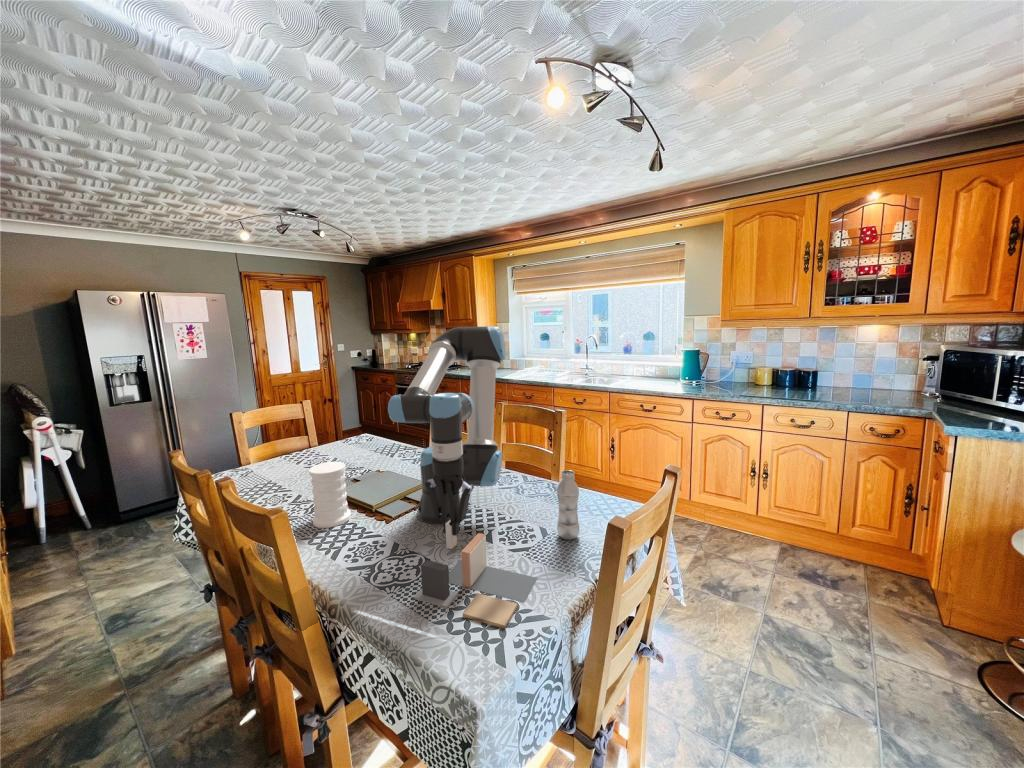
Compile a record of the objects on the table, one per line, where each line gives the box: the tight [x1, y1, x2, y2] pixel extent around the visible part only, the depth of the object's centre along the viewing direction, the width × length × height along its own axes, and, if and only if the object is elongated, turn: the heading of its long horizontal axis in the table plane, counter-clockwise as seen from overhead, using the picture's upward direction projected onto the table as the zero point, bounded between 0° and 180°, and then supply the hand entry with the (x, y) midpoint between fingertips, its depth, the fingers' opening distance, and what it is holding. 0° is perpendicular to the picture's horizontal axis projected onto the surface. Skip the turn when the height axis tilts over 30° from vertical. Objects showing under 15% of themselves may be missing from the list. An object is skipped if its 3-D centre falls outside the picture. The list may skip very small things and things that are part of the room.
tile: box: [461, 532, 488, 589], centre depth 100 cm, size 2×9×9 cm, turn 158°
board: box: [462, 592, 518, 630], centre depth 88 cm, size 10×7×1 cm
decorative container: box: [308, 461, 352, 529], centre depth 132 cm, size 12×12×18 cm
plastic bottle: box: [556, 469, 580, 541], centre depth 118 cm, size 6×7×20 cm
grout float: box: [413, 559, 459, 609], centre depth 93 cm, size 9×5×8 cm, turn 68°
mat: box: [449, 559, 539, 603], centre depth 99 cm, size 22×10×1 cm, turn 68°
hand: (451, 545), depth 102 cm, fingers closed
